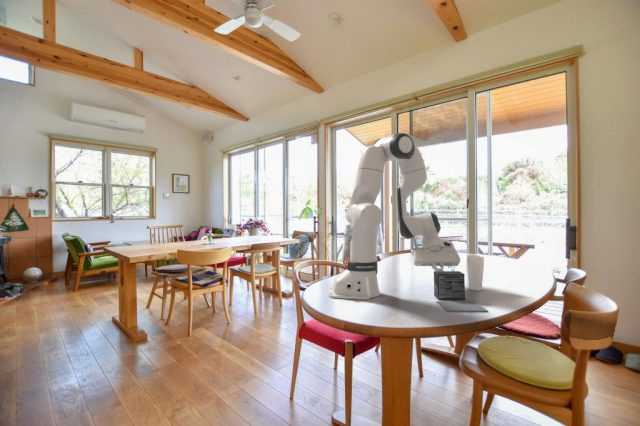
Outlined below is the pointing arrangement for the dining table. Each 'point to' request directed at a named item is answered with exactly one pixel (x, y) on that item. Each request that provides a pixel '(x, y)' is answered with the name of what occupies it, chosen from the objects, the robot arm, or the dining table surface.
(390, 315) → the dining table surface
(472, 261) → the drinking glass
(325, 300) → the dining table surface
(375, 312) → the dining table surface
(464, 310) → the mat
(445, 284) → the small box
